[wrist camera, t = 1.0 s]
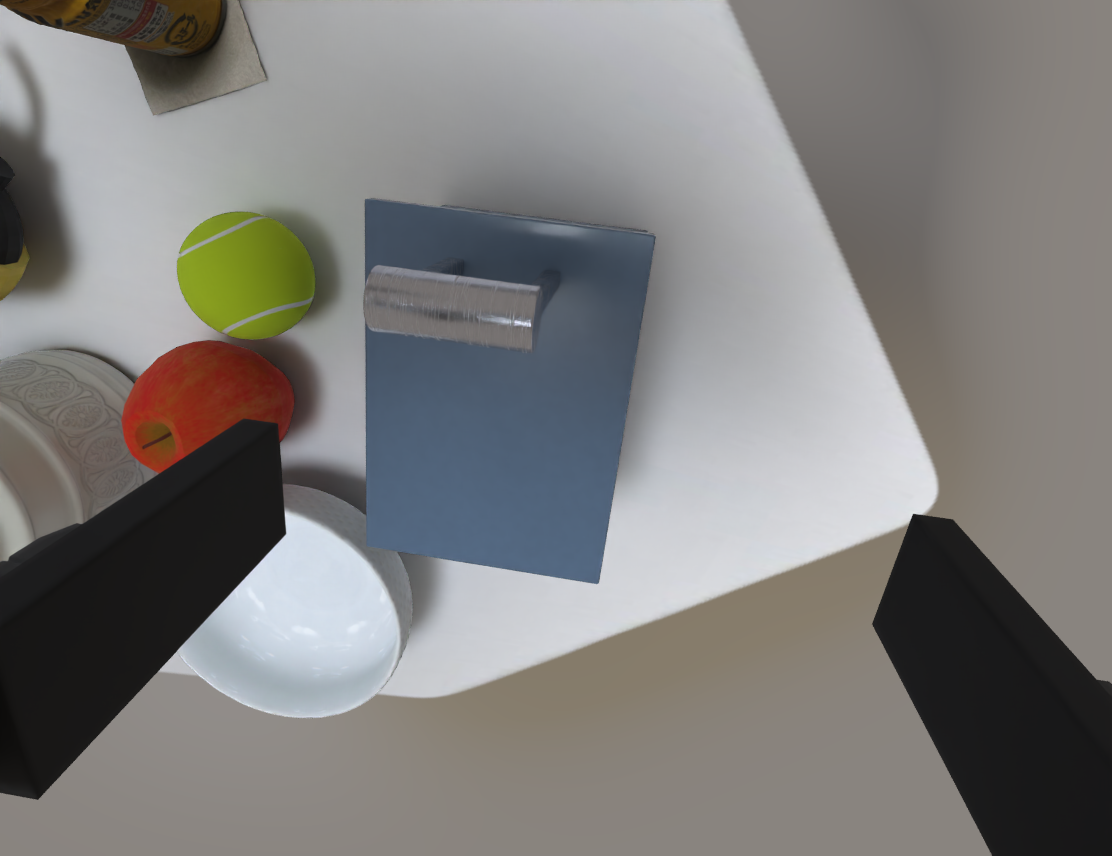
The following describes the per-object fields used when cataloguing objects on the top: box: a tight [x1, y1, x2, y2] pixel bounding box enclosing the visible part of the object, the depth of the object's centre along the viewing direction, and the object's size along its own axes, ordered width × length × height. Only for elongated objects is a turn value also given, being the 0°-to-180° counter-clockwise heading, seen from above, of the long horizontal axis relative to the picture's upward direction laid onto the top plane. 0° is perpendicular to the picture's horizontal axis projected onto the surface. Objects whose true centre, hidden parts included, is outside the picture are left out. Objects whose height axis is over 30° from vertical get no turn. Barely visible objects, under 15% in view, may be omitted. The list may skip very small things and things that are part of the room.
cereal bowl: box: [177, 484, 413, 718], centre depth 44 cm, size 17×17×7 cm
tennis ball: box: [177, 212, 316, 339], centre depth 36 cm, size 7×7×7 cm
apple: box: [121, 340, 295, 473], centre depth 38 cm, size 8×8×11 cm
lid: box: [364, 198, 656, 584], centre depth 25 cm, size 17×12×9 cm
